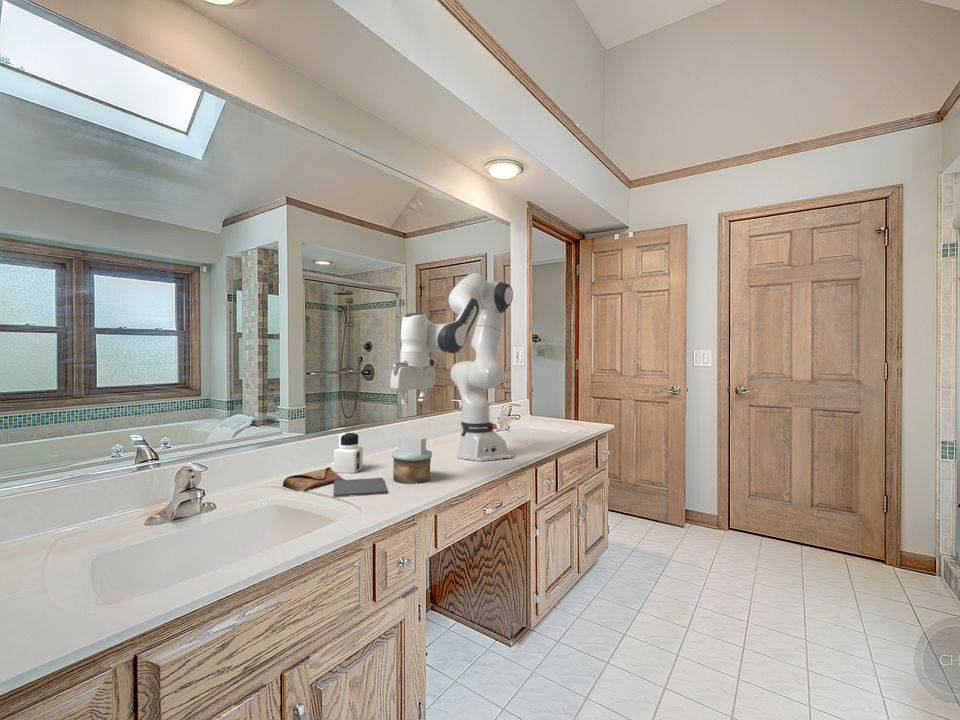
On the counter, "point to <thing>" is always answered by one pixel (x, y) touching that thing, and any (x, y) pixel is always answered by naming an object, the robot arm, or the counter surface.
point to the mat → (359, 487)
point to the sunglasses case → (311, 480)
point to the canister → (411, 471)
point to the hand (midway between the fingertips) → (413, 403)
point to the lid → (412, 449)
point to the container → (348, 454)
